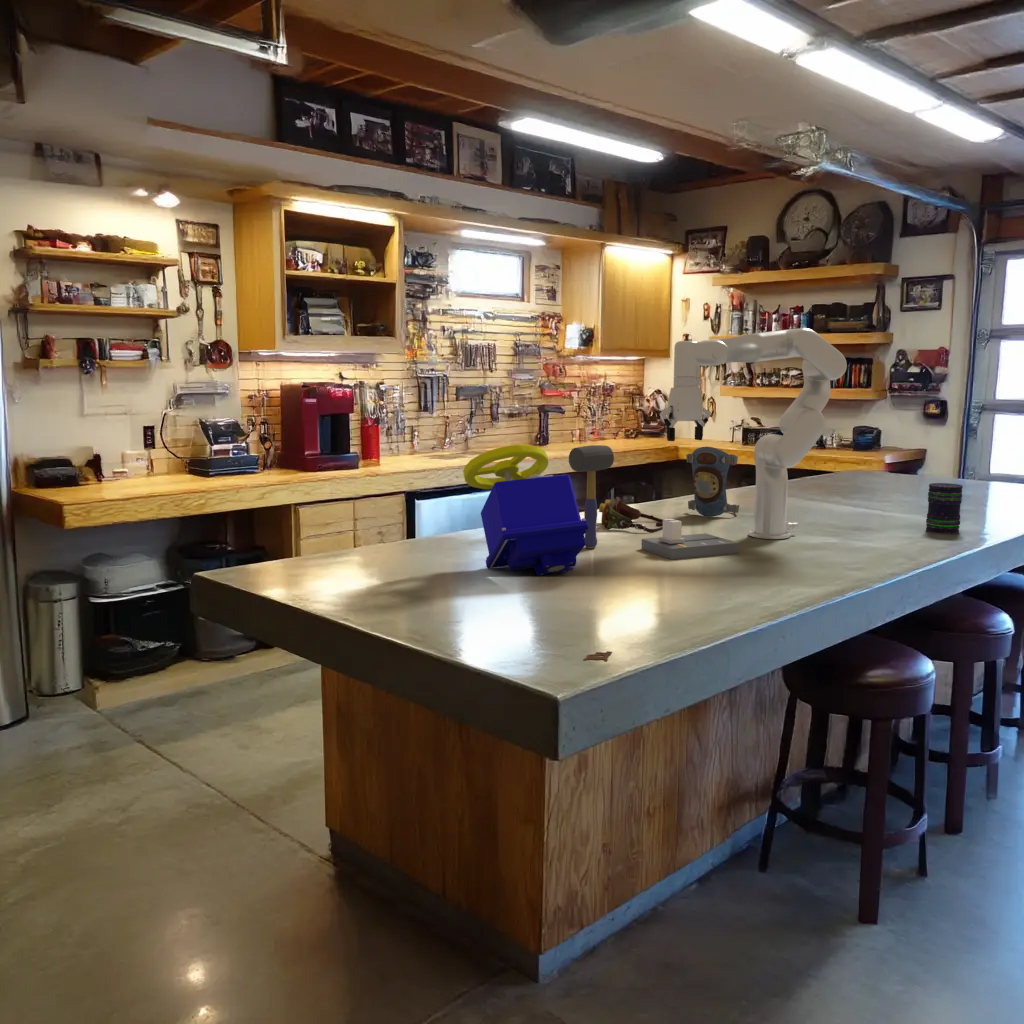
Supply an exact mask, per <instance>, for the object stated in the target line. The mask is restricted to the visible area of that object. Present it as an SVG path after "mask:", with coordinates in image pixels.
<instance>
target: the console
mask: <svg viewBox="0 0 1024 1024" xmlns="http://www.w3.org/2000/svg"><path fill="white" fill-rule="evenodd" d="M658 537H659V536H657V537H648V538H641V550H643V551H646V552H649V553H652V554H655V555H657V556H660V557H664V558H667V559H669V560H681V559H690V558H702V557H703V558H704V557H709V556H710V557H712V556H713V557H714V556H720V555H721V556H723V555H733V554H739V542H736V541H735V540H734V541H733V540H731V539H726V538H723V537H720V536H717V535H712V534H709V533H706V532H705V533H695V534H694V533H693V534H683V535H682V534H681V538H684V539H685V543H673V544H669V543H666V542H663V541H660V540H658Z"/></svg>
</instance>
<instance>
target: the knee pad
mask: <svg viewBox="0 0 1024 1024" xmlns="http://www.w3.org/2000/svg"><path fill="white" fill-rule="evenodd" d="M685 456H686V458H685V459H686V463H687V464H688V463H689V464H691V468H692V478H693V479H692V483H693V489H694V490H693V493H694V495H693V497H694V499H690V500H688V501H687V507H688V510H689V511H690V510H692V511H697V512H698V514H699V515H701V516H703V517H707V518H709V517H718V516H722V514H724V513H732V514H738V513H739V511H740V510H739V509H740V505H739V504H730V503H728V498H727V489H726V486H727V485H726V484H727V480H728V479H727V478H728V473H729V470H730V469H729V468H730V466H735V465H738V461H739V460H738V459H739V456H738V455H737V454H736V455H735V454H733V453H732V454H729V453H728V452H725V451H724V450H721V449H720V448H719V449H718V448H717V447H713V446H700V447H698V448H696V449H694V450H693V451H692V453H686V455H685Z"/></svg>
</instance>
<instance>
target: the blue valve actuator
mask: <svg viewBox="0 0 1024 1024" xmlns="http://www.w3.org/2000/svg"><path fill="white" fill-rule="evenodd" d="M509 458H510V459H509ZM526 458H531V459H533V460H535V462H534V463H533V464H532V465H531V466H530V467H529V468H526V469H524V470H522V471H519V470H520V469H519V468H520V467H519V464H520V463H521V462H522V461H524V460H525V459H526ZM496 461H498V462H497V463H495V464H494V465H492V466H486V465H489V464H491V463H493V462H496ZM548 465H549V458H548V455H547V453H546V451H545V450H544V449H543V448H541V447H540V446H536V445H530V444H514V445H505V446H500V447H496V448H493V449H491V450H488V451H485V452H482V453H480V454H479V455H476V456H475V457H473V458H471V459H470V460H469V462H468V463H467V464H466V465H465V466H464V468H463V472H462V473H463V478H464V482H465V483H466V484H467V485H468V486H470V487H472V488H477V489H482V490H490V492H489V494H488V496H487V498H486V501H485V503H484V505H483V507H482V509H481V511H480V516H481V523H482V527H483V531H484V532H483V533H484V537H485V541H486V542H485V543H486V546H487V550H488V556H486V559H485V565H486V568H487V569H495V568H504V567H508V570H509V571H517V570H524V569H525V570H526V569H532V568H534V571H535V575H536V577H541V576H544V575H547V574H553V573H562V574H563V573H568V572H569V571H570V572H571V569H570V568H572V567H576V566H577V565H576V564H577V556H578V555H580V554H579V553H580V552H581V551H582V550H583V549H584V548H585V547H586V546H585V545H586V543H585V533H586V531H587V530H588V529H589V526H588V523H587V521H586V520H585V518H584V517H583V518H581V514H580V511H579V506H578V503H577V498H576V495H575V490H574V487H573V483H572V479H571V476H570V474H561V475H560V474H559V475H554V474H547V475H544V474H543V473H544V472H545V470H546V469H547V467H548ZM484 466H486V467H484ZM489 474H494V475H495V476H496V477H495V478H494V477H482V476H483V475H489Z"/></svg>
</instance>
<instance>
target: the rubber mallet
mask: <svg viewBox="0 0 1024 1024" xmlns="http://www.w3.org/2000/svg"><path fill="white" fill-rule="evenodd" d="M614 461H615V454H614V451H613V449H612V448H611V447H610V446H608V445H605V444H604V445H603V444H602V445H600V444H599V445H598V444H596V445H593V444H592V445H585V446H584V445H583V446H578V447H574V448H572V449H571V450H570V451H569V454H568V463H569V467H570V468H571V469H572V470H573V471H575V472H584V473H585V472H586V498H585V502H584V514H583V515H584V517H583V518H585V520H586V521H587V523H588V526H589V529H588V530H587V531H586V533H585V534H584V538H585V543H586V545H585V546H584V547H585V548H586V549H590V550H591V549H595V548H596V546H597V545H598V539H597V520H598V505H597V504H598V503H597V498H596V495H597V493H596V492H597V491H596V488H597V487H596V484H597V483H596V482H597V481H596V475H597V474H596V471H598V472H599V471H601V470H602V471H603V470H608V469H609V468H611V467H612V466H613V464H614Z"/></svg>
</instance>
